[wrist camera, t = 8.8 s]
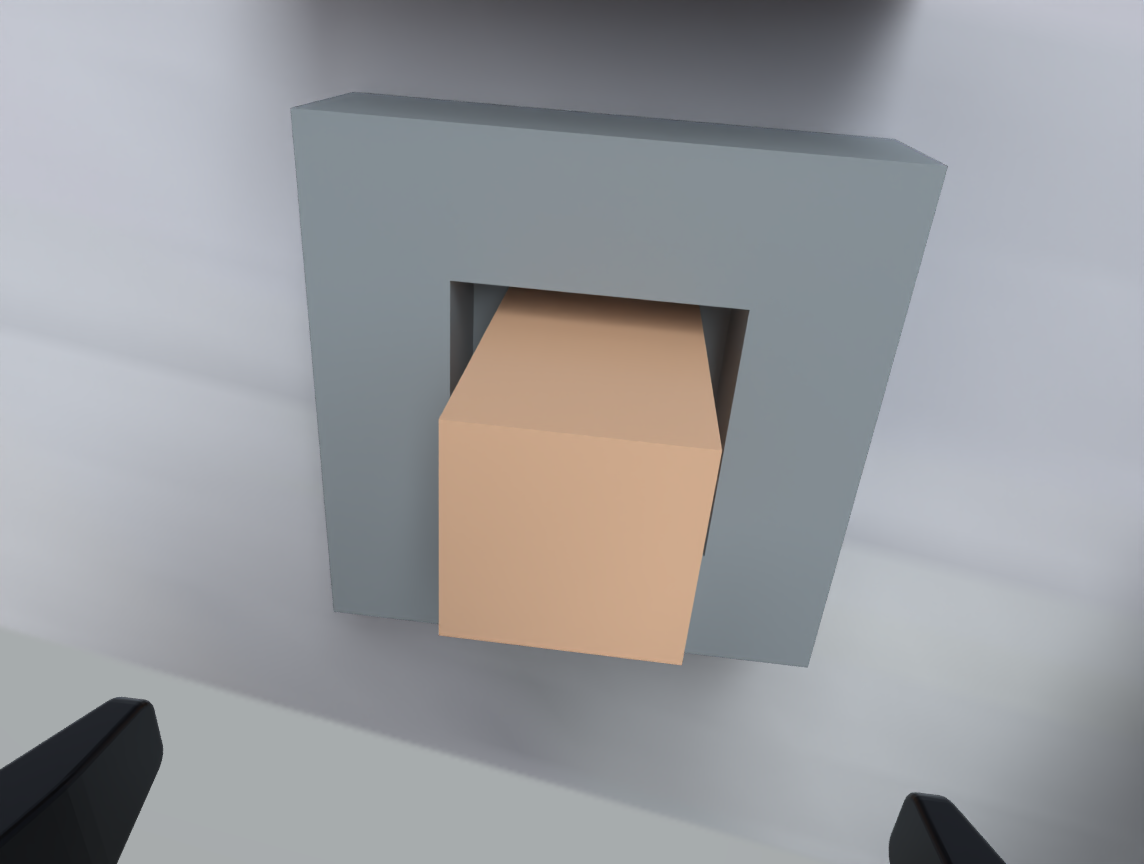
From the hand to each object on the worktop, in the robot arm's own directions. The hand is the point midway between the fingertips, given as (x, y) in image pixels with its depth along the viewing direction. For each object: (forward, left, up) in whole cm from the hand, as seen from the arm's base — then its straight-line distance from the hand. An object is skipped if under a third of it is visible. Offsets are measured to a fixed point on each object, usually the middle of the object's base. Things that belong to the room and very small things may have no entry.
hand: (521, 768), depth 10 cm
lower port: (0, 0, -12) cm, 12 cm away
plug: (0, 0, -11) cm, 11 cm away
